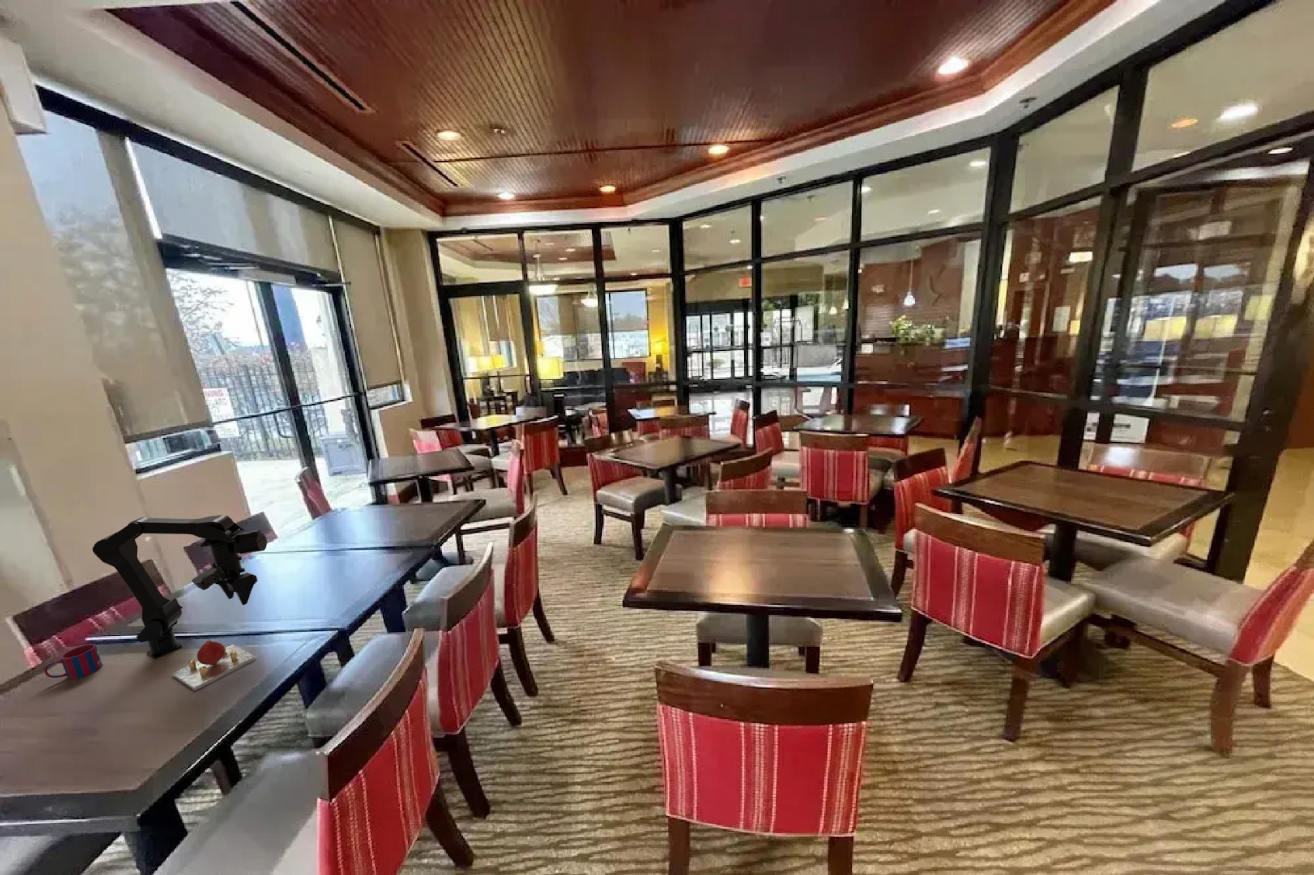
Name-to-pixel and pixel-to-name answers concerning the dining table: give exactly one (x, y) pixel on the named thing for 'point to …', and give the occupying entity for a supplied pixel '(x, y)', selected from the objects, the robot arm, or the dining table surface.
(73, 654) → the mug
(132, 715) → the dining table surface
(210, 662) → the red rounded piece
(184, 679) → the plate
